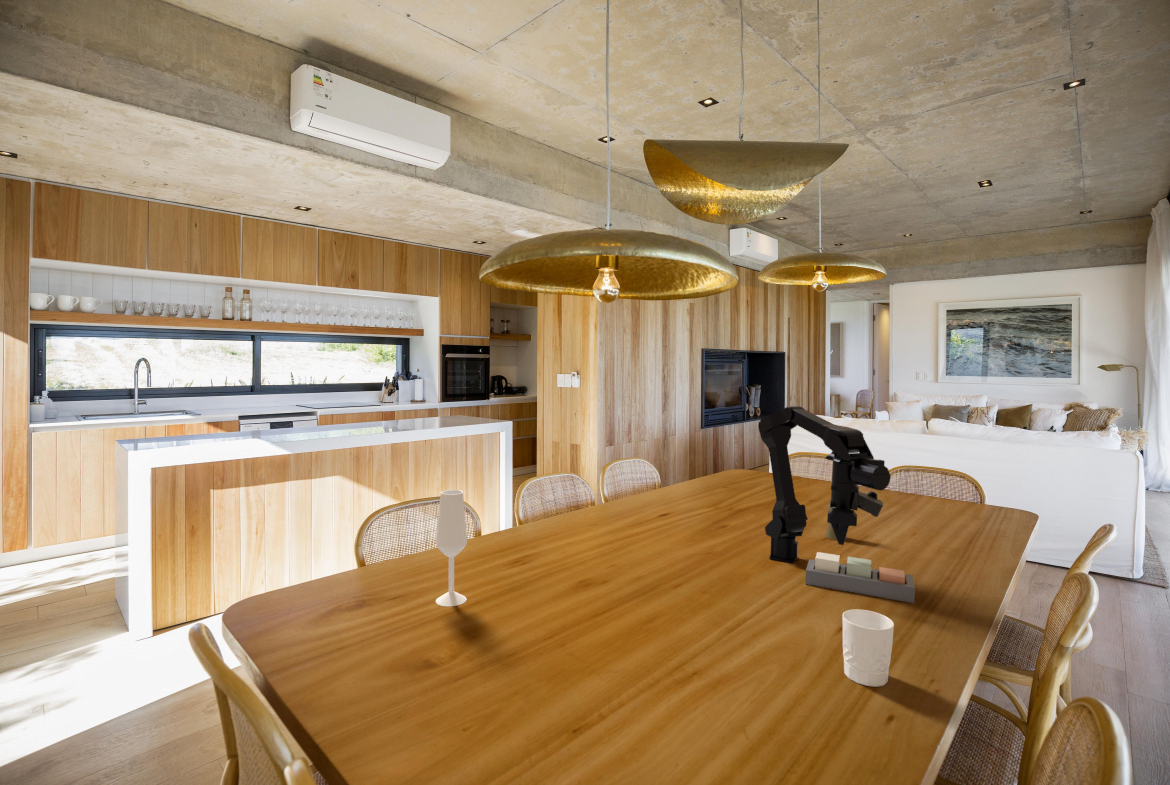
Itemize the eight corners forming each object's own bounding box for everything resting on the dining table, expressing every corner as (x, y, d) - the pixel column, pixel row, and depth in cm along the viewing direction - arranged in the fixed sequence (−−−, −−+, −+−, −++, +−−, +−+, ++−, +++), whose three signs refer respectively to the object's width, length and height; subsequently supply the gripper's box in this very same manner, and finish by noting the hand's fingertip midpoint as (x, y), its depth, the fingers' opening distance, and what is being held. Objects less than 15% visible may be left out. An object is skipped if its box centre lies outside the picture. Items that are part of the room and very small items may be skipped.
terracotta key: (878, 590, 134) (879, 573, 134) (878, 583, 139) (879, 566, 139) (904, 594, 132) (905, 577, 132) (903, 587, 137) (904, 570, 136)
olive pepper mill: (848, 541, 175) (850, 505, 174) (827, 540, 176) (829, 504, 175) (844, 535, 181) (845, 501, 180) (823, 534, 182) (825, 499, 181)
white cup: (831, 664, 102) (833, 609, 101) (873, 663, 103) (876, 608, 102) (856, 690, 94) (858, 630, 94) (901, 688, 95) (904, 629, 94)
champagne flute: (439, 608, 122) (440, 496, 121) (432, 597, 128) (432, 490, 127) (470, 603, 125) (471, 494, 124) (462, 592, 131) (462, 487, 130)
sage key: (846, 579, 137) (846, 562, 137) (847, 572, 142) (847, 556, 142) (870, 583, 135) (871, 566, 135) (870, 576, 140) (871, 560, 139)
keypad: (805, 584, 140) (805, 569, 139) (808, 572, 148) (809, 559, 148) (914, 603, 129) (914, 587, 129) (911, 589, 137) (912, 575, 137)
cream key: (814, 574, 140) (815, 558, 140) (816, 567, 145) (817, 551, 145) (837, 578, 138) (838, 561, 138) (839, 571, 143) (839, 555, 143)
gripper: (883, 493, 127) (879, 562, 128) (880, 477, 144) (877, 538, 145) (828, 487, 132) (825, 553, 133) (832, 472, 149) (829, 532, 150)
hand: (841, 544), depth 140 cm, fingers closed
